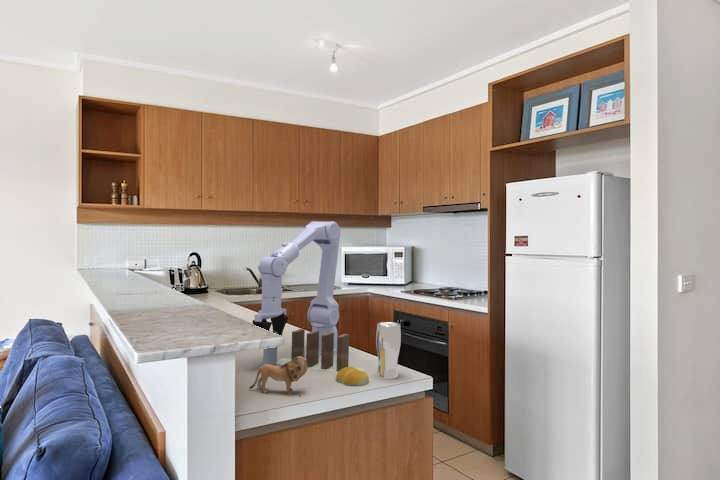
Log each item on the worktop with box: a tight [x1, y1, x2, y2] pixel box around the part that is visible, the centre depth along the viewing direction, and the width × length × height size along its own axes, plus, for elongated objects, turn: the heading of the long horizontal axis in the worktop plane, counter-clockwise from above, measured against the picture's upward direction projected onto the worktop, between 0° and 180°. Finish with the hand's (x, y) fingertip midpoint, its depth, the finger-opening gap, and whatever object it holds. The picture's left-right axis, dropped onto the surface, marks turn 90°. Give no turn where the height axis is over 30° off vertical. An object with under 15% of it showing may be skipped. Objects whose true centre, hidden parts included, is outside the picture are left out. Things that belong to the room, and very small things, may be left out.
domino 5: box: [336, 333, 350, 371], centre depth 145 cm, size 2×5×10 cm, turn 158°
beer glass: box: [375, 321, 402, 380], centre depth 140 cm, size 7×7×15 cm
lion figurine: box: [248, 356, 308, 396], centre depth 125 cm, size 15×5×9 cm, turn 90°
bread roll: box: [335, 366, 369, 387], centre depth 134 cm, size 8×9×4 cm
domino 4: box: [320, 332, 334, 370], centre depth 147 cm, size 2×5×10 cm, turn 158°
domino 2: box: [290, 328, 306, 361], centre depth 151 cm, size 2×5×10 cm, turn 158°
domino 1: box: [262, 331, 278, 366], centre depth 148 cm, size 2×5×10 cm, turn 158°
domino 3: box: [305, 330, 320, 368], centre depth 149 cm, size 2×5×10 cm, turn 158°
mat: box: [276, 357, 366, 374], centre depth 148 cm, size 7×28×1 cm, turn 68°
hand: (270, 342), depth 147 cm, fingers open, 7 cm apart
